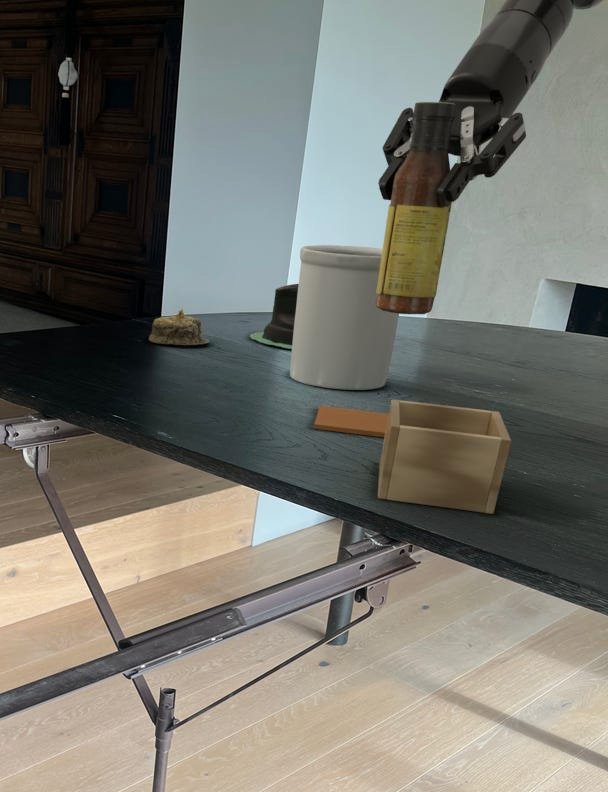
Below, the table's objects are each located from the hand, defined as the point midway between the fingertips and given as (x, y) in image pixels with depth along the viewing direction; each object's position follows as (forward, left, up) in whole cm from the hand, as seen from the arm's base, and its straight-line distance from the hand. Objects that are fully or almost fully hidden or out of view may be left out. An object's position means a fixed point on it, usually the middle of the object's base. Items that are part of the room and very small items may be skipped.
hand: (412, 196), depth 101 cm
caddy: (-7, +15, -25) cm, 30 cm away
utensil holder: (+5, -33, -26) cm, 42 cm away
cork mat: (+1, -8, -25) cm, 27 cm away
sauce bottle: (-1, -1, -11) cm, 12 cm away
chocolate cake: (+11, -62, -26) cm, 68 cm away
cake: (+31, -49, -26) cm, 64 cm away
